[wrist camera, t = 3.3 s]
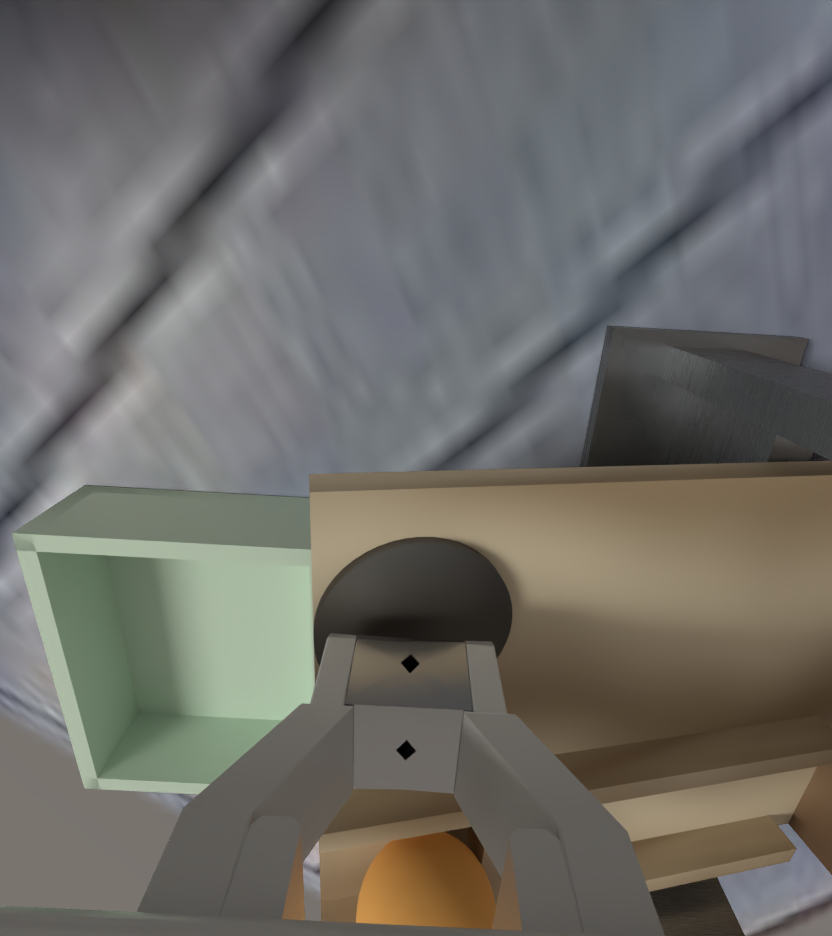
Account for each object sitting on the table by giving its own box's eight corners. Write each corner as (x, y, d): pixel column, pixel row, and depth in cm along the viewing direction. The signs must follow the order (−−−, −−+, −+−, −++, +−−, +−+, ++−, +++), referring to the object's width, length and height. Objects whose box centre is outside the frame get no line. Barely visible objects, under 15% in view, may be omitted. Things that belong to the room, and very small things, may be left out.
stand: (607, 325, 16) (787, 387, 8) (795, 336, 16) (1155, 409, 8) (531, 719, 22) (589, 967, 14) (665, 726, 22) (796, 977, 15)
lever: (309, 474, 9) (310, 661, 5) (1047, 455, 13) (1409, 552, 9) (320, 882, 14) (326, 1159, 10) (861, 781, 18) (1038, 949, 14)
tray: (84, 485, 18) (11, 533, 15) (336, 499, 18) (318, 550, 15) (133, 712, 23) (84, 788, 19) (338, 723, 23) (323, 800, 19)
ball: (349, 812, 12) (367, 987, 9) (476, 786, 13) (531, 942, 10) (348, 893, 13) (365, 1071, 10) (464, 866, 14) (510, 1025, 11)
